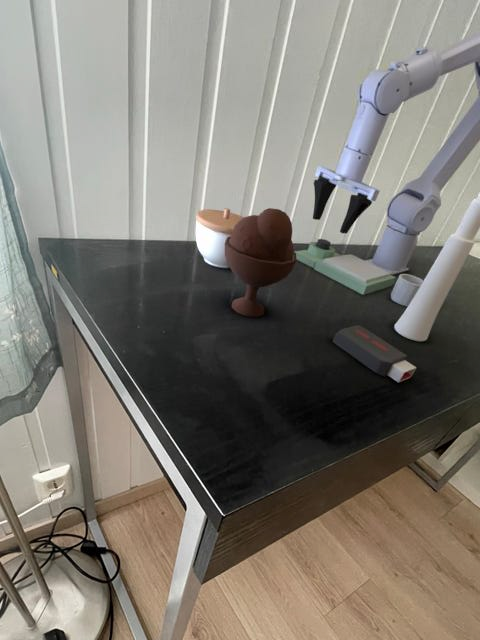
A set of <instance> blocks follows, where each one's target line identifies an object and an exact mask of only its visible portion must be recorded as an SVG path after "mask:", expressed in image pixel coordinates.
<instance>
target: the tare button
mask: <svg viewBox="0 0 480 640" xmlns="http://www.w3.org/2000/svg"><path fill="white" fill-rule="evenodd" d="M316 242H317V244H316V247H318V248H320V249H324V250H329V247H330V246H331V241H329V240H327V239H324V238H318V239H317V241H316Z"/></svg>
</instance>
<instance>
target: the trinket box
mask: <svg viewBox="0 0 480 640" xmlns="http://www.w3.org/2000/svg"><path fill="white" fill-rule="evenodd" d="M244 217H245V216H243V215H239V214H236V213H233V212H231V209H230V208H228V207H225V208H224V210H219V209H209V208H208V209H202V210H201V209H200V210H199V211H197V213H196V217H195V220H196V223H195V241H196V242H195V243H196V246H197V249H198V251H199V253H200V255H201V256H202V257H203V260H204V262H205V263H207V264H208V265H211V266H213V267H216V268H221V269H222V268H223V269H230V267H229V266H228V264H227V261H226V257H225V241H226V239H227V237H230V236H231V235H232V232H233V229H234V226H235V225H236V224H237V223H238V221H240V220H241V219H243V218H244Z"/></svg>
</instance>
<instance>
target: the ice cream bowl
mask: <svg viewBox="0 0 480 640" xmlns="http://www.w3.org/2000/svg"><path fill="white" fill-rule="evenodd" d="M243 217H244V218H243V219H241V220H240V221H238V223H237V224H236V225H235V226H234V229H233V232H232V235H231V236H230V237H227V239H226V241H225V257H226V261H227V264H228V266H229V267H230V268H229V269H230V270H231V272H232V273H233V274H234V275H235V276H236V277H237V278H238V280H240V281H241V282H242V283H244V284H245V285H246V291H245V296H242V297H238V298H235V299H234V300H233V301H232V303H231V308H232V309H233V310H234V311H235V312H236V313H237V314H240V315H242V316H246V317H256V318H258V317H261V316H263V315H265V314H264V313H265V306H264V305H263V304H262V303H261V302H259V300H258V299H257V294H258V291H259V289H260V288H264V287H268V286H272V285H274V284H278V283H279V282H281V281H283V280H284V279H286V278H287V277H288V276H289V275H290V274H291V272H292V271H293V269H294V267H295V265H296V264H297V261H298V260H297V259H296V253H295V251H294V243H293V240H292V237H293V223H292V220H291V218H290V217H289V215H288V214H287V213H286V212H285V211H283V210H281V209H279V208H273V207H272V208H271V207H269V208H265V209H264V210H263V211H262V212H260V213H259V215H258V214H257V215H256V214H251V215H249V216H248V215H247V216H243Z"/></svg>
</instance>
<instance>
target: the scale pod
mask: <svg viewBox="0 0 480 640" xmlns="http://www.w3.org/2000/svg"><path fill="white" fill-rule="evenodd" d="M316 244H317V241H311V242H310V243H309V245H308V248H307V249H302V250H296V251H294V252H295V253H296V259H297V261H299V262H301V263H302V264H305V265H307V266H309V267H310V268H313V269H314V267H315V264H316V261H317V260H322V259H326V258H332V257H337V256H343V255H342V254H340V253H338V252H336V249H335V247H333V246H332V245H330V247H329V250H324V249H320V248H318V247H316Z"/></svg>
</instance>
